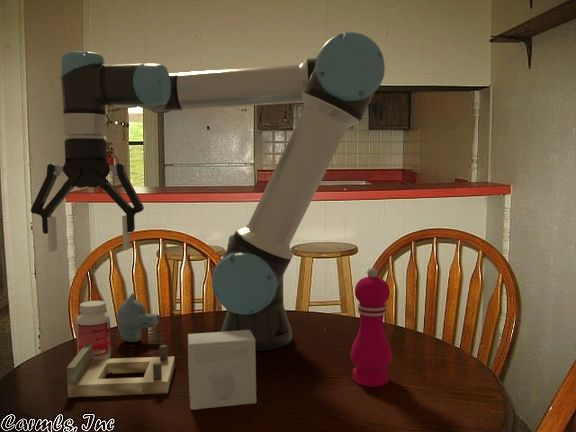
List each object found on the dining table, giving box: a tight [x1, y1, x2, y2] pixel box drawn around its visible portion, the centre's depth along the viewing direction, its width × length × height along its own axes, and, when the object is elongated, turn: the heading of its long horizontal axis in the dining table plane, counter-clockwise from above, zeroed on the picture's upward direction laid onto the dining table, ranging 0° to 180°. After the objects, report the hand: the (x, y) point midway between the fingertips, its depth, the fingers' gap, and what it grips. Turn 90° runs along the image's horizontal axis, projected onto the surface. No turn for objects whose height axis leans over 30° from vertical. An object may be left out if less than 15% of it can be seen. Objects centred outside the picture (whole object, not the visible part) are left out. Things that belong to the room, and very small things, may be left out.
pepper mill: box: [350, 267, 393, 388], centre depth 97 cm, size 7×7×20 cm
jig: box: [66, 344, 176, 398], centre depth 97 cm, size 16×12×5 cm
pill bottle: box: [75, 300, 112, 359], centre depth 108 cm, size 6×6×11 cm
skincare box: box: [187, 330, 258, 411], centre depth 90 cm, size 10×6×10 cm, turn 102°
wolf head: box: [116, 292, 161, 343], centre depth 119 cm, size 6×9×10 cm
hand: (90, 250), depth 106 cm, fingers open, 13 cm apart
